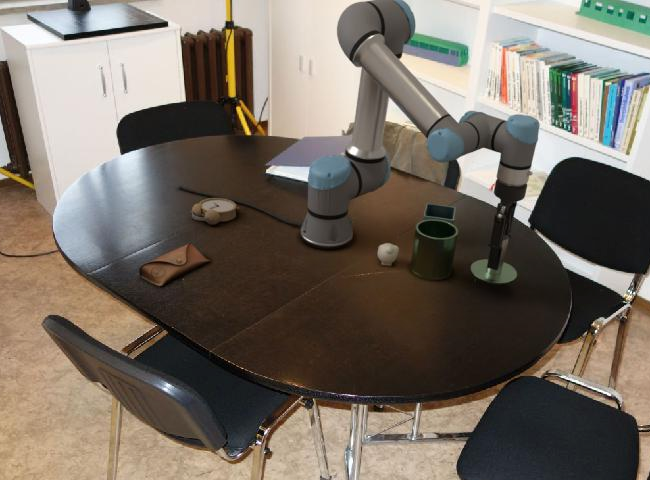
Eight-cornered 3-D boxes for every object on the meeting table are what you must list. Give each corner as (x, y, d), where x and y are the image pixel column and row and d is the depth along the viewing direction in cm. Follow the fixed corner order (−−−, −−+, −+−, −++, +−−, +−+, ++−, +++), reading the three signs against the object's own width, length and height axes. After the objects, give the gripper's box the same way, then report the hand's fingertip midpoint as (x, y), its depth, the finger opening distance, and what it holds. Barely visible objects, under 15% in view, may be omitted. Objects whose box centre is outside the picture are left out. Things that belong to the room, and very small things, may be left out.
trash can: (407, 276, 186) (412, 234, 179) (414, 256, 195) (419, 216, 188) (448, 283, 184) (455, 242, 177) (453, 263, 193) (460, 223, 186)
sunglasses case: (161, 286, 175) (150, 262, 173) (146, 290, 179) (135, 266, 178) (212, 260, 187) (202, 237, 185) (197, 264, 192) (187, 241, 190)
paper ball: (376, 266, 190) (377, 248, 186) (377, 256, 194) (379, 238, 191) (397, 268, 189) (399, 250, 186) (397, 258, 194) (400, 240, 191)
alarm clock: (244, 205, 210) (210, 214, 199) (242, 220, 212) (209, 230, 201) (217, 194, 215) (182, 202, 204) (215, 209, 217) (181, 218, 206)
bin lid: (467, 282, 177) (474, 243, 171) (472, 259, 187) (478, 222, 180) (515, 290, 175) (523, 251, 168) (517, 267, 184) (525, 230, 178)
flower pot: (449, 247, 201) (454, 219, 196) (419, 243, 202) (423, 215, 197) (451, 233, 208) (456, 206, 203) (422, 229, 209) (426, 202, 204)
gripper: (518, 197, 158) (500, 283, 171) (535, 172, 171) (517, 254, 184) (486, 189, 161) (471, 275, 174) (506, 166, 174) (490, 247, 187)
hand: (494, 264), depth 179 cm, fingers closed on bin lid, 4 cm apart
